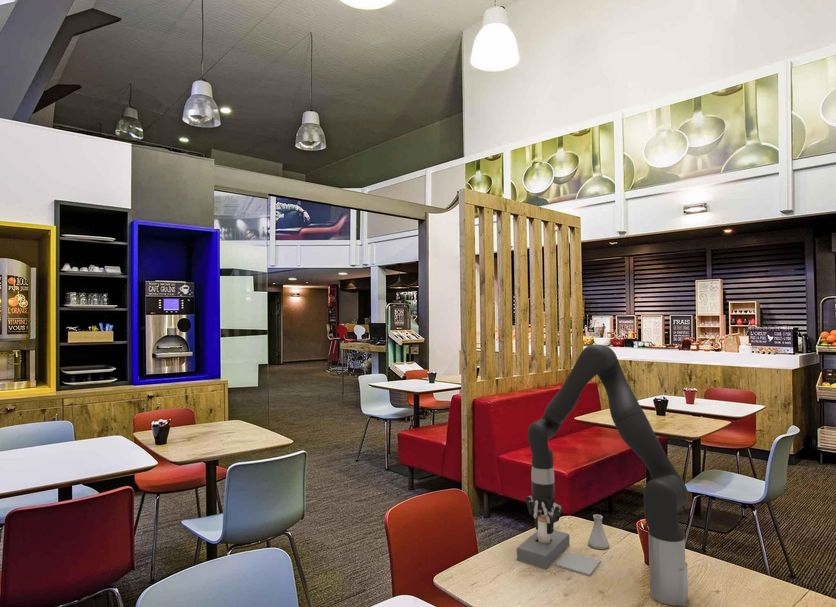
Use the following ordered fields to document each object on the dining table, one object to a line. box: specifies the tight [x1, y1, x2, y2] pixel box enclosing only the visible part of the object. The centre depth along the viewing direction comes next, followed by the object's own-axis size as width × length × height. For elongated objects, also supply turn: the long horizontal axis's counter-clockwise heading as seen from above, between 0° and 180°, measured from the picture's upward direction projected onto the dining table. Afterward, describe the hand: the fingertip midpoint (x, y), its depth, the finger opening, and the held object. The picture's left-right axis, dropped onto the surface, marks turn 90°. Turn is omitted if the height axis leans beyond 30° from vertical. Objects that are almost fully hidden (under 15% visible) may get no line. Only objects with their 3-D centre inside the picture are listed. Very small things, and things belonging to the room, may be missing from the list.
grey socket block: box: [516, 529, 571, 570], centre depth 170 cm, size 10×20×4 cm, turn 143°
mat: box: [554, 550, 602, 577], centre depth 162 cm, size 11×11×1 cm
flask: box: [587, 514, 610, 550], centre depth 175 cm, size 7×7×10 cm
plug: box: [537, 514, 550, 545], centre depth 170 cm, size 4×4×10 cm
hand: (544, 531), depth 170 cm, fingers closed on plug, 4 cm apart
